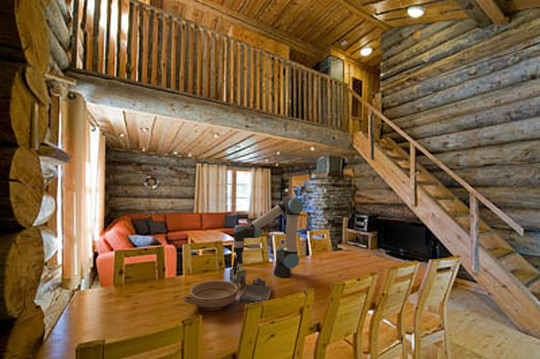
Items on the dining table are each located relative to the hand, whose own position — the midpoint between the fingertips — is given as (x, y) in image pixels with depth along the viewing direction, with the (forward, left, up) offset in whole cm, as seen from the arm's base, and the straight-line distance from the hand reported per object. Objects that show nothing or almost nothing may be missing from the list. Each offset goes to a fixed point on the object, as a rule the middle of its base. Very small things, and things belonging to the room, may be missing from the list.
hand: (237, 275), depth 180 cm
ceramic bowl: (+6, +33, -7) cm, 34 cm away
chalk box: (0, 0, -7) cm, 7 cm away
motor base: (-17, +14, -7) cm, 23 cm away
